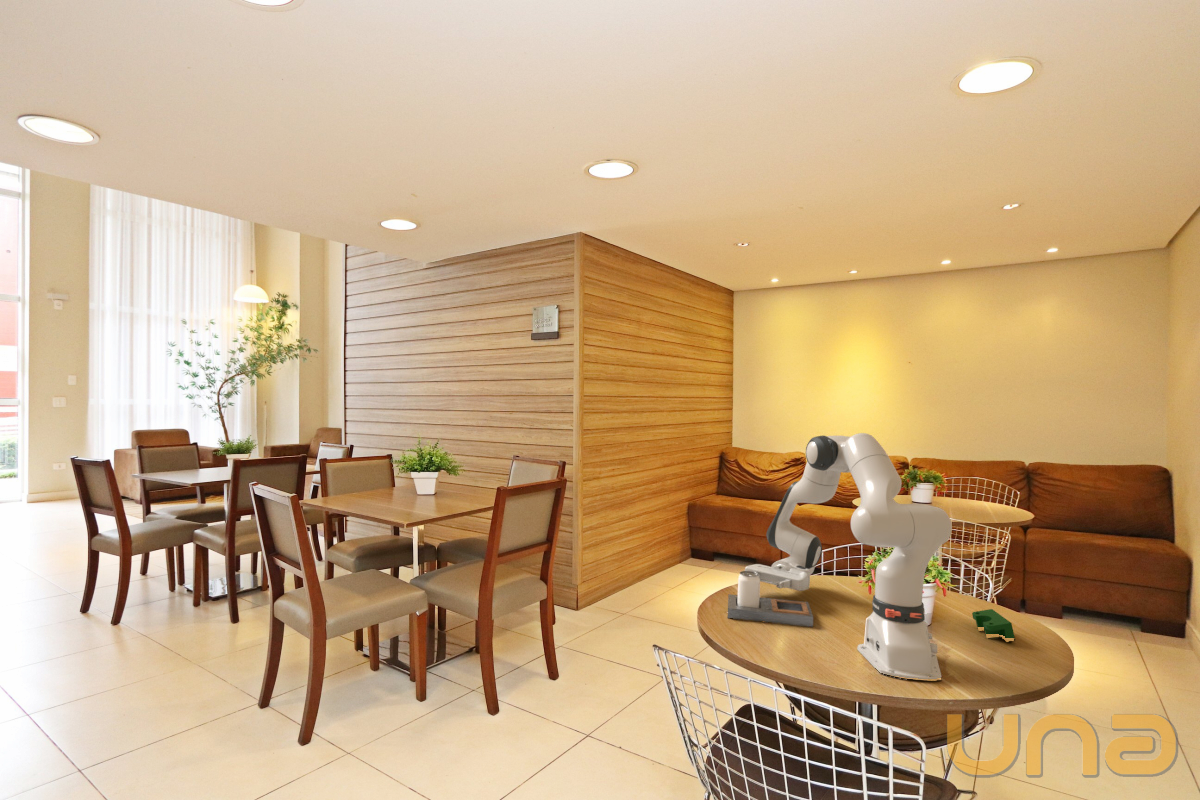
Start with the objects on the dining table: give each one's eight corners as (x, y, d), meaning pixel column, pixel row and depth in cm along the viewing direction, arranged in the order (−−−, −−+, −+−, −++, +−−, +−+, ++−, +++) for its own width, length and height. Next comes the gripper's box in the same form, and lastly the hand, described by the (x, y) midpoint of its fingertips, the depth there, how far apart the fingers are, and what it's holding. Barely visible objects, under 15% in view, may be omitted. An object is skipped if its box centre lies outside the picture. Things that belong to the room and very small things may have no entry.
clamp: (980, 645, 179) (968, 612, 183) (1002, 642, 178) (989, 609, 182) (995, 644, 168) (982, 609, 172) (1018, 641, 167) (1004, 606, 171)
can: (752, 618, 183) (753, 578, 183) (733, 612, 188) (734, 573, 187) (762, 613, 188) (764, 573, 188) (743, 607, 192) (745, 569, 192)
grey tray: (812, 627, 178) (813, 615, 178) (727, 618, 183) (727, 607, 183) (807, 611, 190) (808, 601, 190) (728, 603, 195) (728, 593, 195)
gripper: (756, 557, 212) (735, 565, 202) (814, 570, 198) (795, 579, 188) (755, 575, 212) (735, 584, 202) (813, 589, 198) (794, 599, 188)
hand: (764, 581), depth 195 cm, fingers open, 8 cm apart
